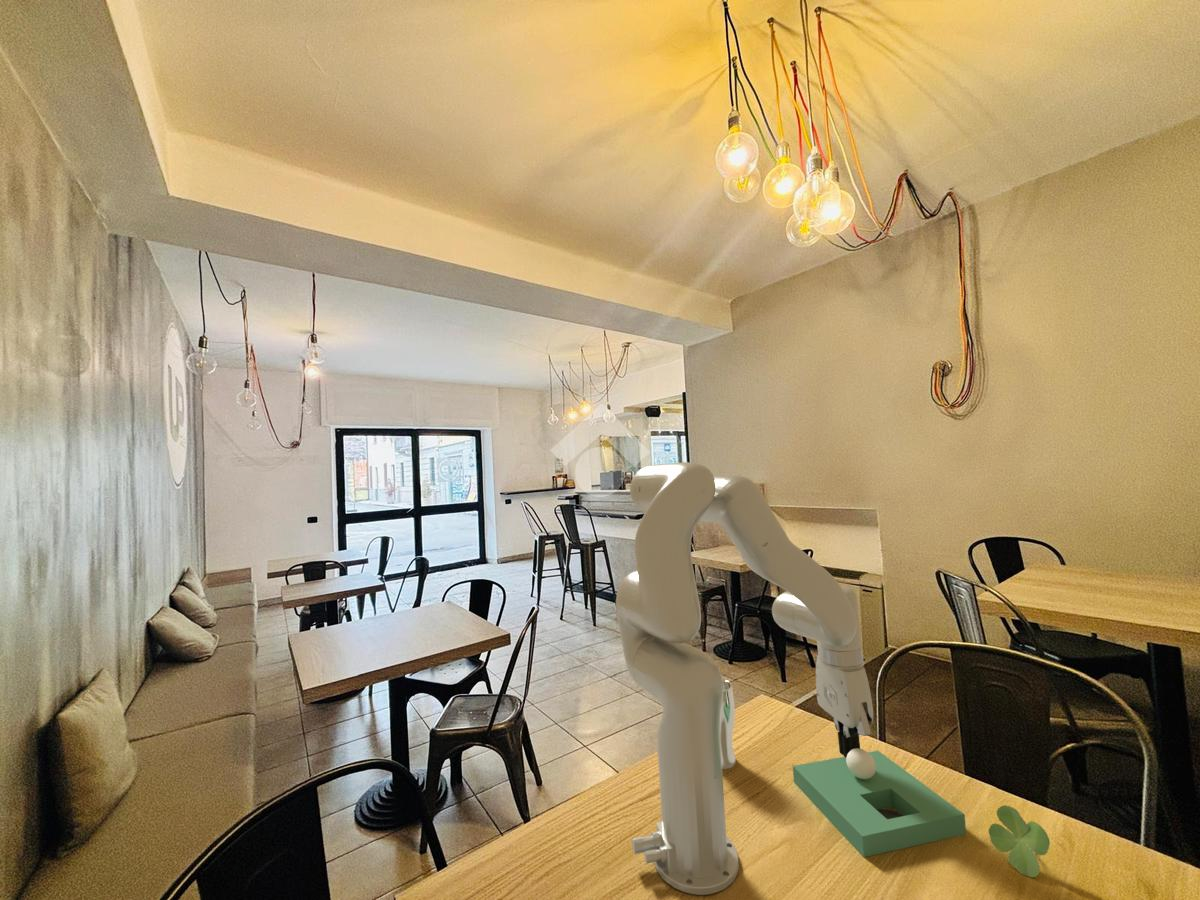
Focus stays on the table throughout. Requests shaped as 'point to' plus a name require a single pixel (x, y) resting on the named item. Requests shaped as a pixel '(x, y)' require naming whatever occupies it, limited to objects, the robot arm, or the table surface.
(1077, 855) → the table surface
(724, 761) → the white bottle
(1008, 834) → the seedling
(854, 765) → the ball
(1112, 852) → the table surface
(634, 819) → the table surface
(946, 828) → the putting board
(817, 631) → the robot arm
